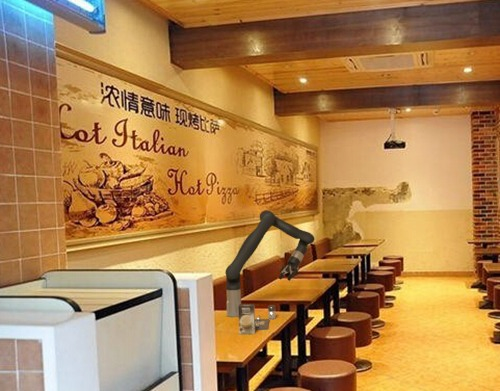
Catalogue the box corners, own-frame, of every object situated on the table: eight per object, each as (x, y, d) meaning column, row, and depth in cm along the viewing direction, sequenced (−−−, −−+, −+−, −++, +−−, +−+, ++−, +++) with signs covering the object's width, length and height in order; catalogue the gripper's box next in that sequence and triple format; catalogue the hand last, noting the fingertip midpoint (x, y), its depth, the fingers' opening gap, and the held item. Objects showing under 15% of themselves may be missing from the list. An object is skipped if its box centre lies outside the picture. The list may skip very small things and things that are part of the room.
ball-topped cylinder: (268, 319, 366) (267, 306, 366) (268, 318, 371) (268, 305, 371) (275, 319, 366) (274, 306, 366) (275, 317, 370) (275, 305, 370)
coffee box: (238, 334, 331) (237, 306, 331) (240, 331, 337) (238, 304, 337) (254, 334, 330) (253, 305, 330) (255, 331, 336) (254, 303, 336)
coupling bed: (245, 330, 340) (245, 324, 340) (248, 320, 364) (248, 315, 364) (267, 329, 340) (267, 323, 340) (269, 320, 363) (269, 315, 363)
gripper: (285, 255, 385) (273, 275, 379) (299, 256, 374) (287, 276, 367) (291, 261, 389) (280, 281, 382) (306, 263, 377) (294, 283, 371)
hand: (284, 279), depth 375 cm, fingers open, 8 cm apart
